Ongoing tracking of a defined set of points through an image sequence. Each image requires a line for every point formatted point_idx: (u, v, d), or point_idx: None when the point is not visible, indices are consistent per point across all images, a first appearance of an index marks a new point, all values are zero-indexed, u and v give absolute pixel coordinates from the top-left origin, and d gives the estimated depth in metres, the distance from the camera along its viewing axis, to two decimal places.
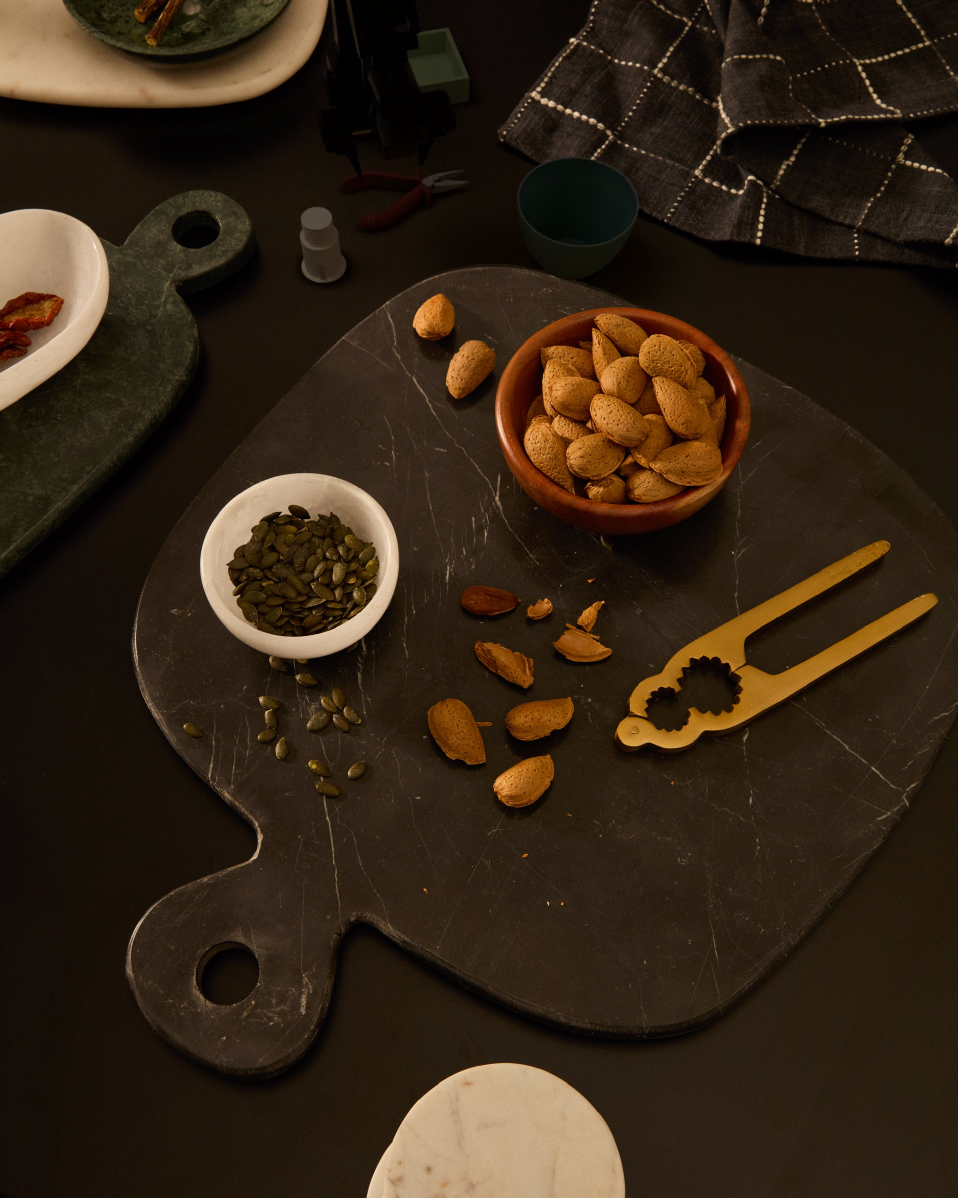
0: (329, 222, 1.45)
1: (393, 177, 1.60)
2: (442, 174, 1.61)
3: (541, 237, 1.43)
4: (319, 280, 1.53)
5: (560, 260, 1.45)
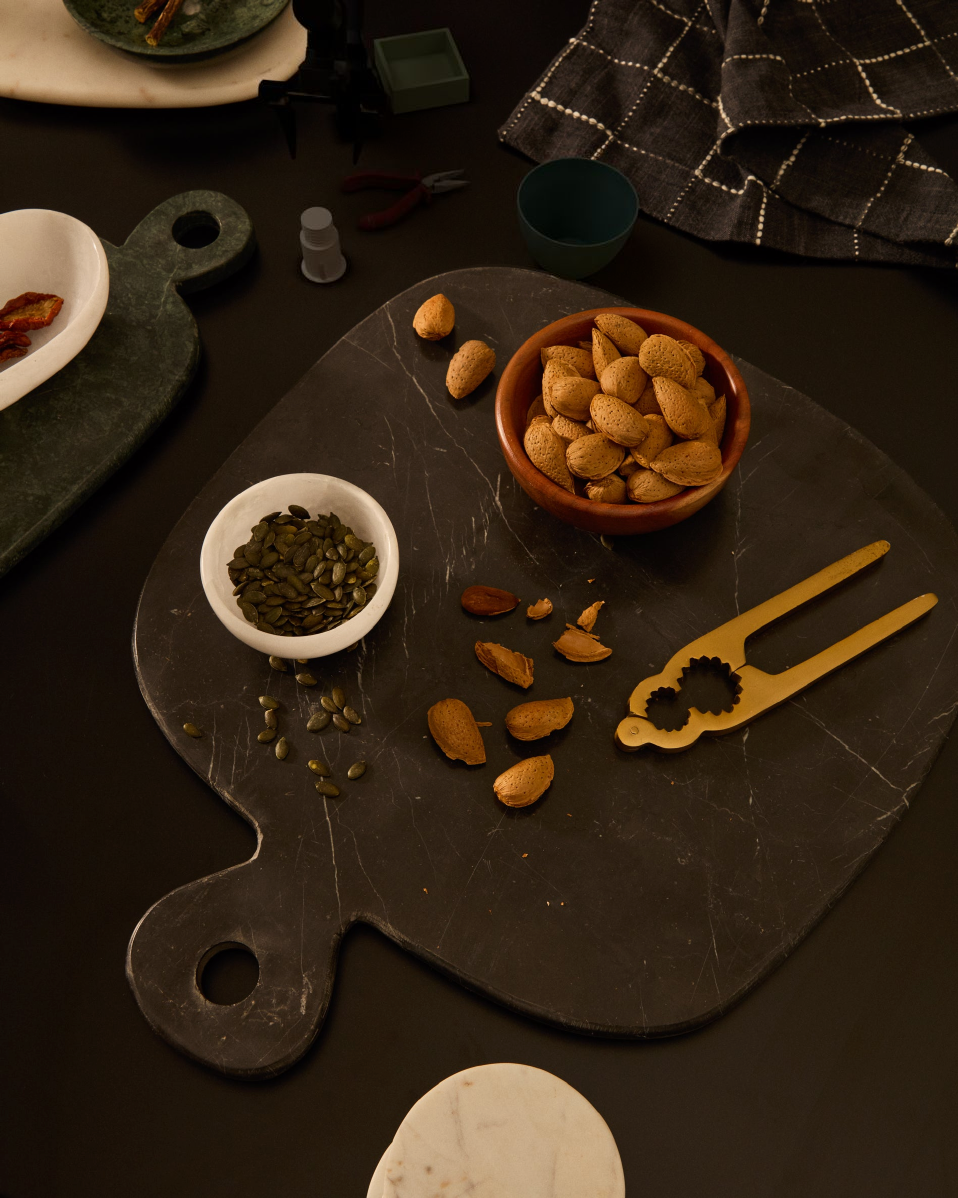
0: (329, 222, 1.45)
1: (393, 177, 1.60)
2: (442, 174, 1.61)
3: (541, 237, 1.43)
4: (319, 280, 1.53)
5: (560, 260, 1.45)
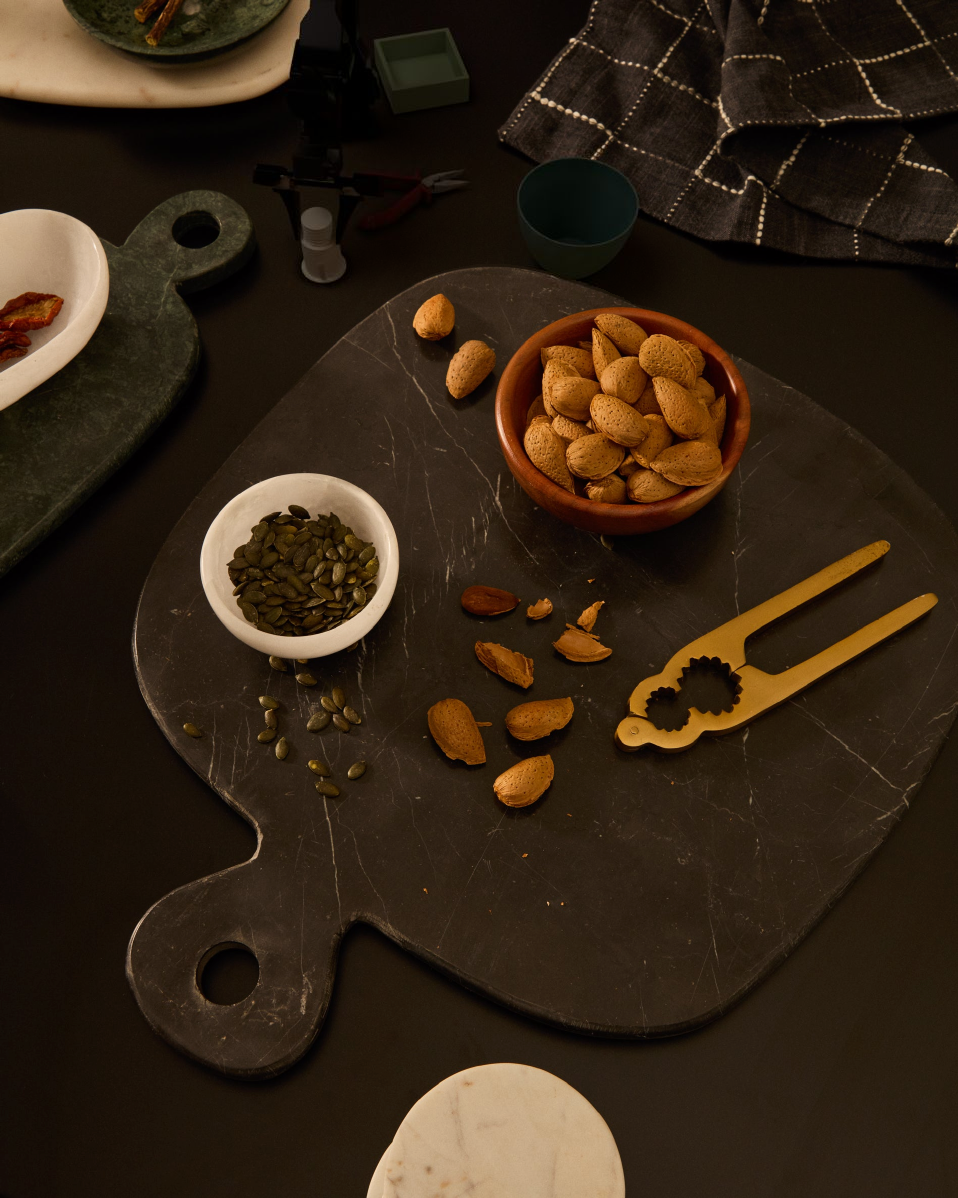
0: (329, 222, 1.45)
1: (393, 177, 1.60)
2: (442, 174, 1.61)
3: (541, 237, 1.43)
4: (319, 281, 1.53)
5: (560, 260, 1.45)
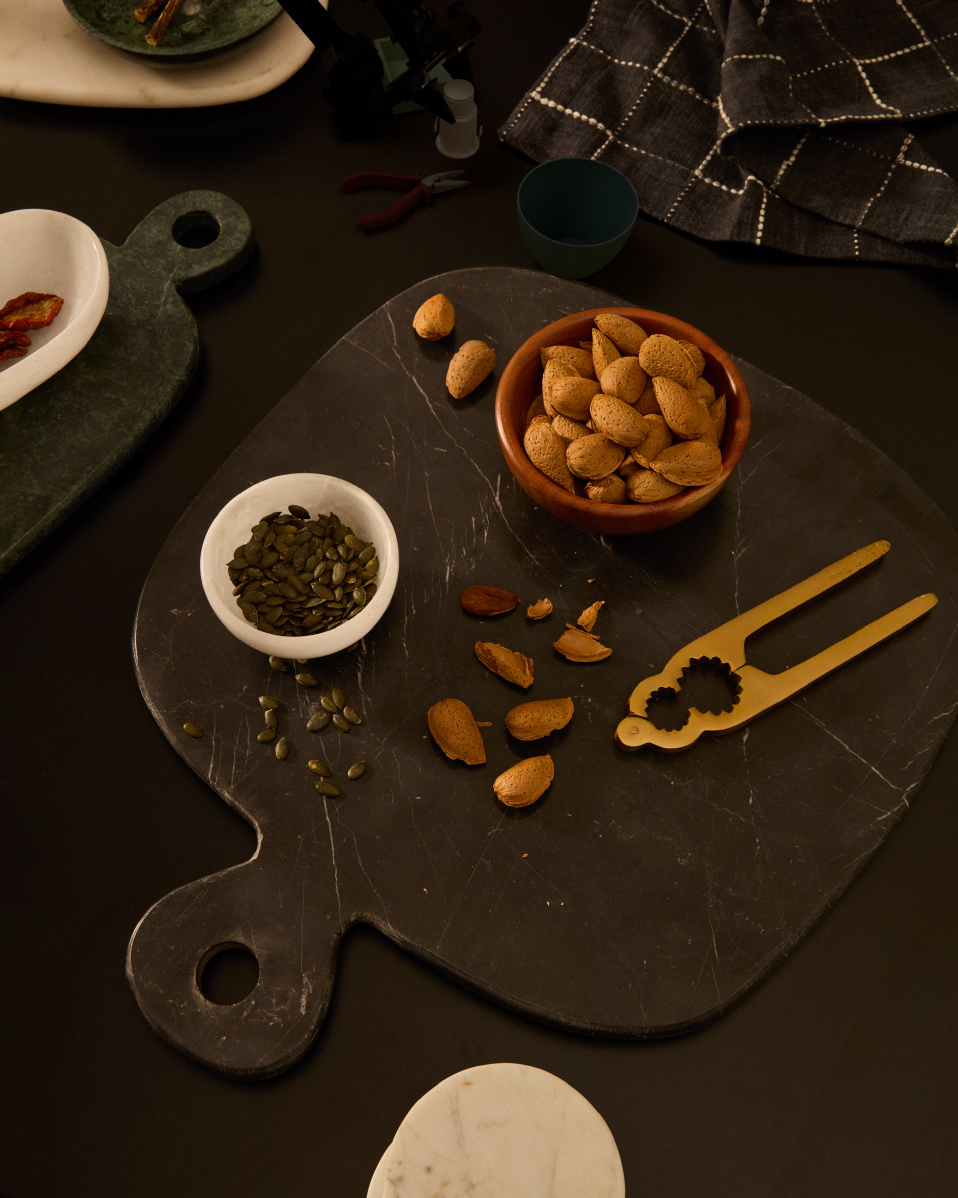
0: (469, 83, 1.49)
1: (393, 177, 1.60)
2: (442, 174, 1.61)
3: (541, 237, 1.43)
4: (473, 151, 1.56)
5: (560, 260, 1.45)
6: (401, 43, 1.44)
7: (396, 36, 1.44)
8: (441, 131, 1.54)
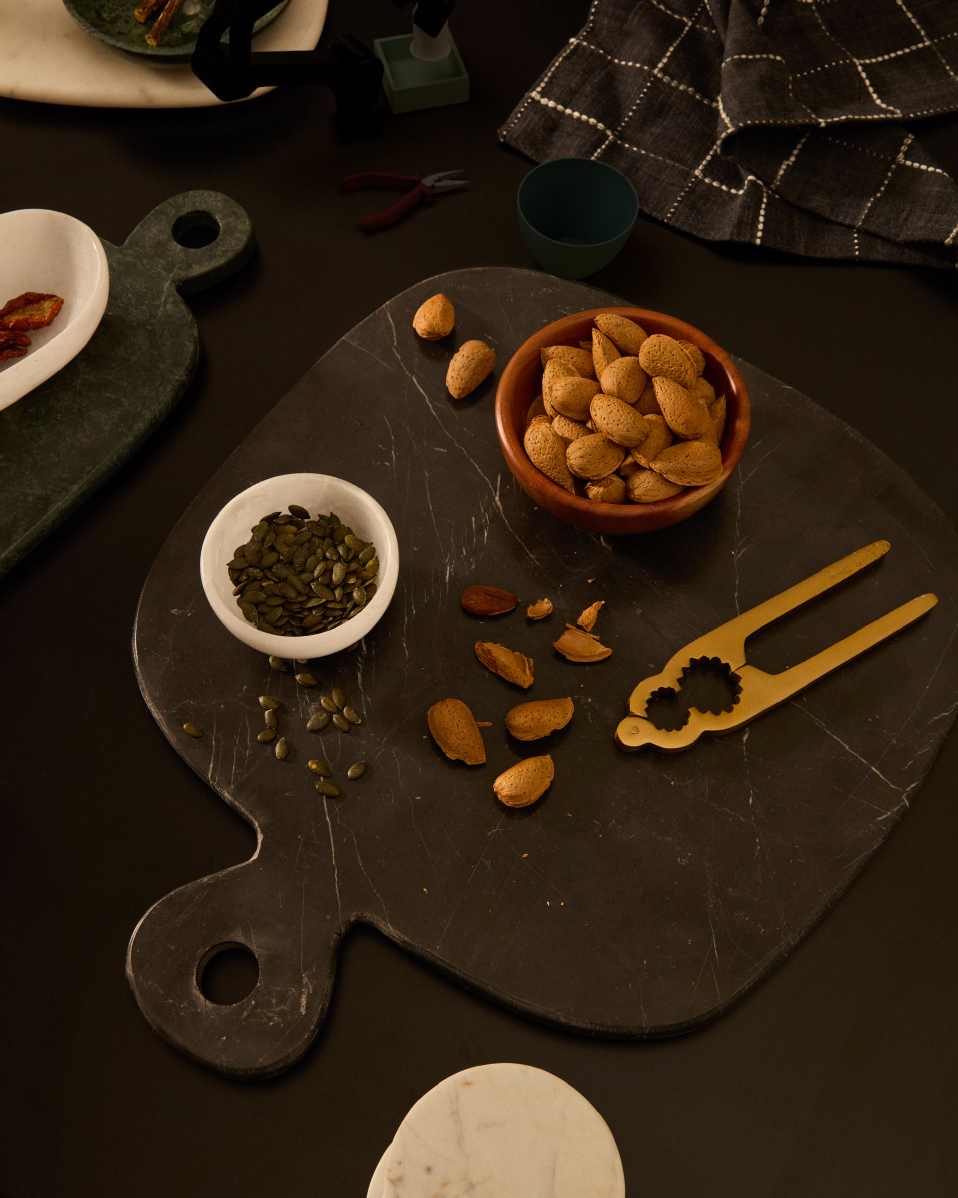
0: None
1: (393, 177, 1.60)
2: (442, 174, 1.61)
3: (541, 237, 1.43)
4: None
5: (560, 260, 1.45)
6: None
7: None
8: (433, 42, 1.63)
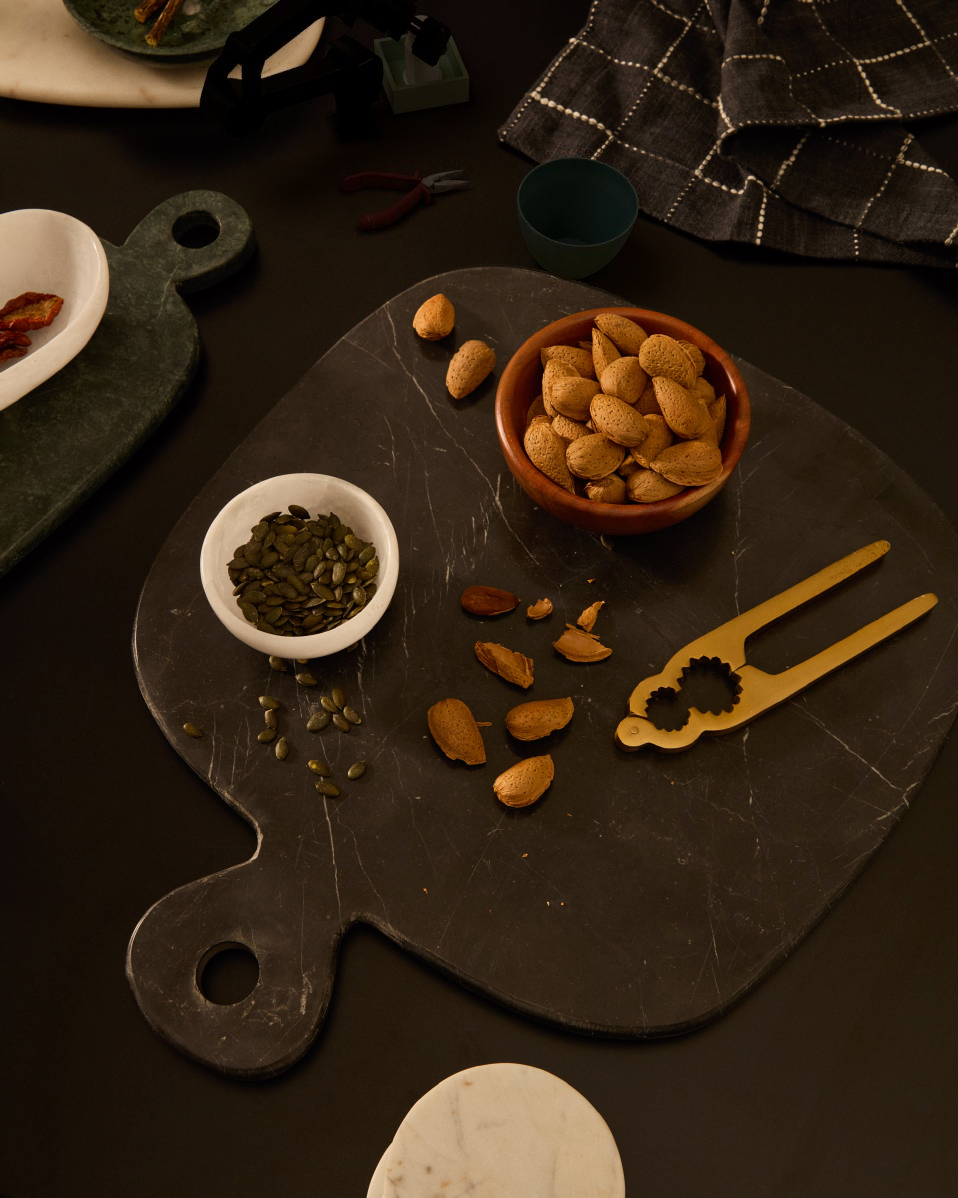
0: (415, 16, 1.65)
1: (393, 177, 1.60)
2: (442, 174, 1.61)
3: (541, 237, 1.43)
4: None
5: (560, 260, 1.45)
6: (394, 22, 1.55)
7: (389, 21, 1.54)
8: (426, 71, 1.69)
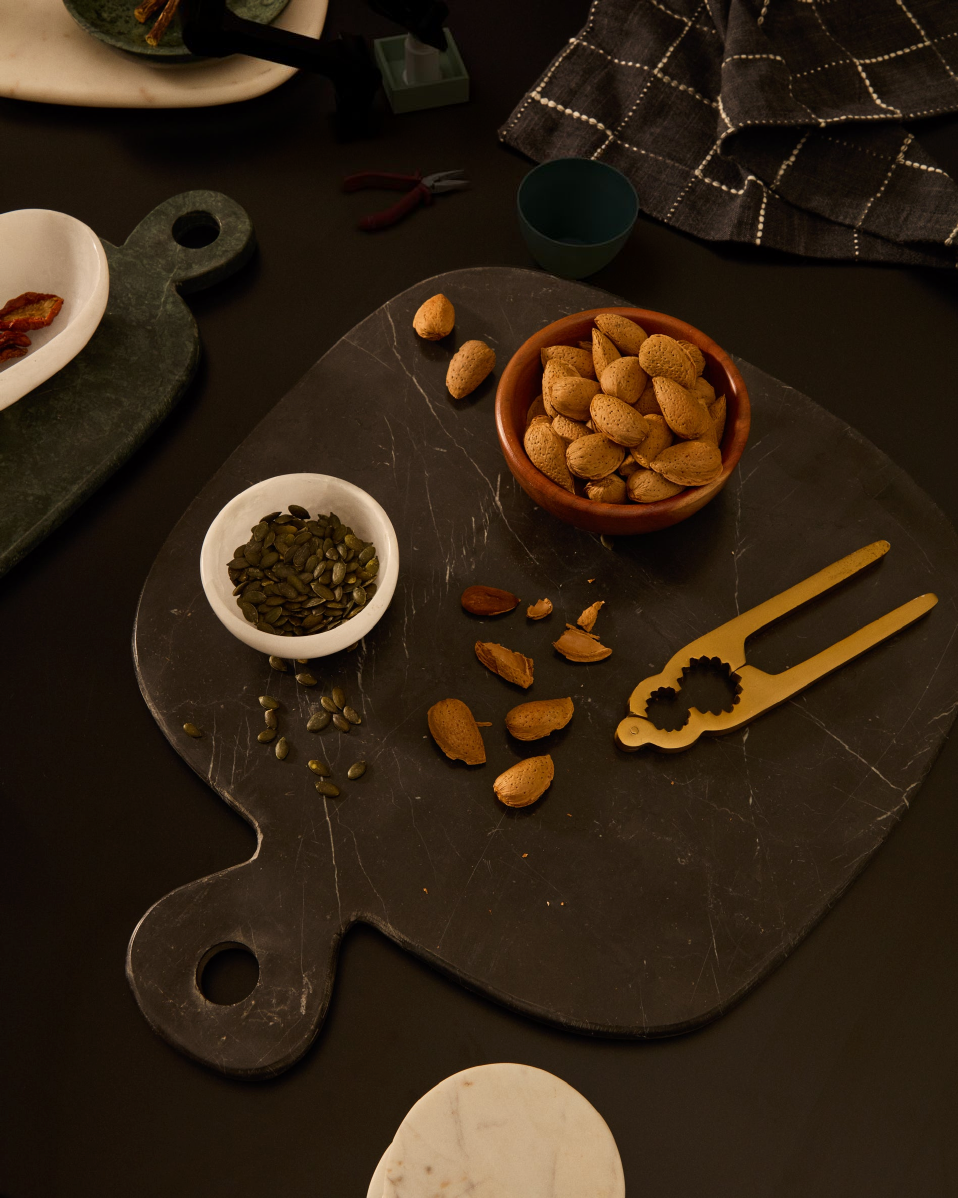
0: None
1: (393, 177, 1.60)
2: (442, 174, 1.61)
3: (541, 237, 1.43)
4: None
5: (560, 260, 1.45)
6: None
7: None
8: (426, 71, 1.69)
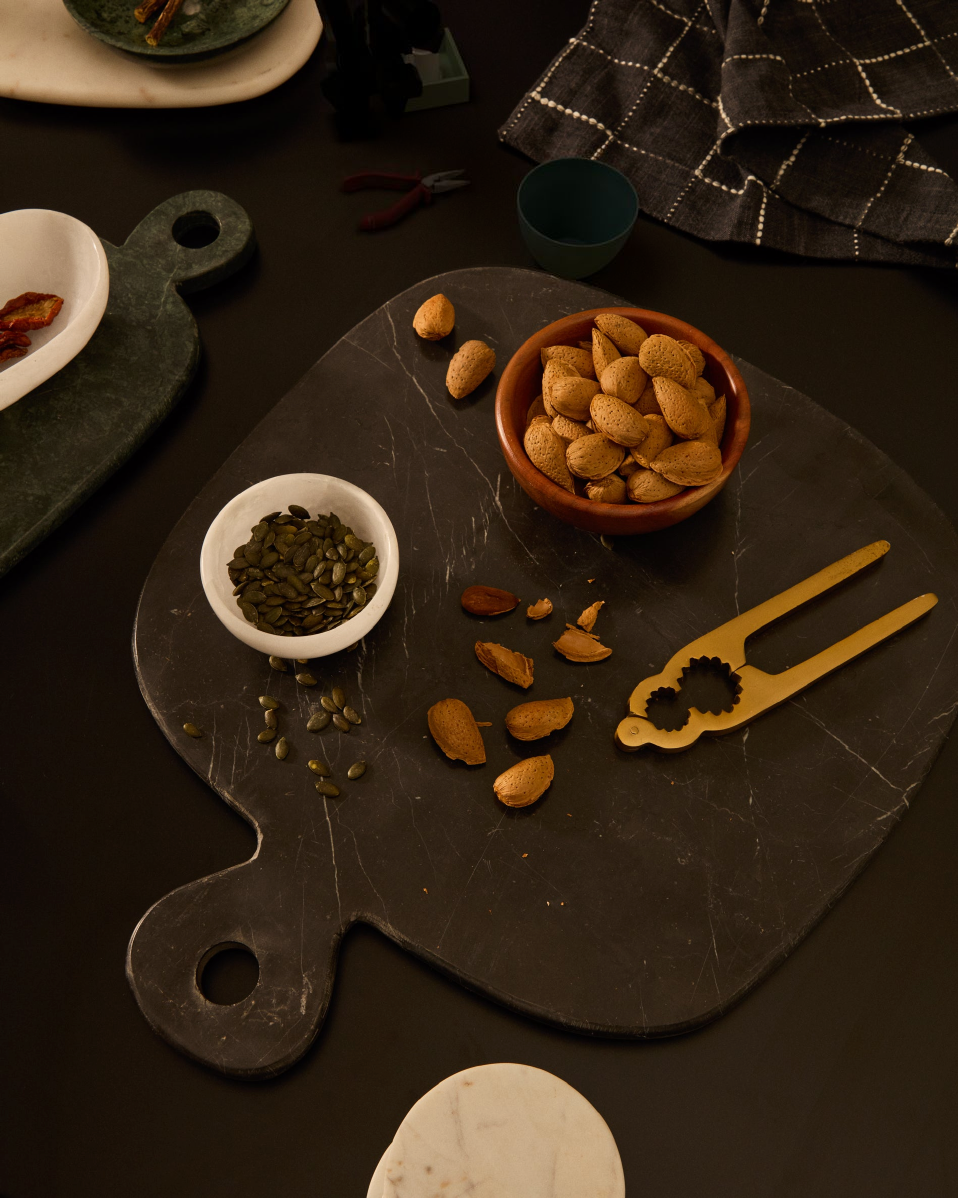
0: None
1: (393, 177, 1.60)
2: (442, 174, 1.61)
3: (541, 237, 1.43)
4: None
5: (560, 260, 1.45)
6: (385, 34, 1.39)
7: (382, 26, 1.38)
8: (426, 71, 1.69)
